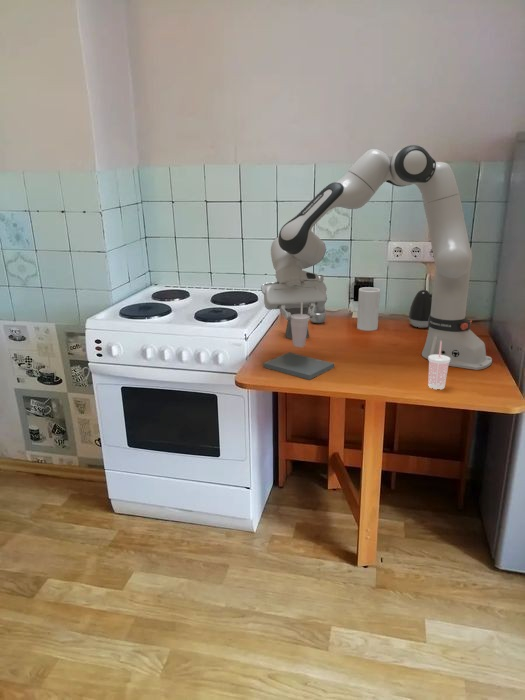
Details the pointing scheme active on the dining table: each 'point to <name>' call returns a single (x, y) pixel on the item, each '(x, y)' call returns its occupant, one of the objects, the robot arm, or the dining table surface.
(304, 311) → the coffeepot
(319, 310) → the plastic bottle
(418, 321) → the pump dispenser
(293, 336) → the smoothie
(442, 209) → the robot arm
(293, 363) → the slate board
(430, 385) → the beverage cup
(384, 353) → the dining table surface
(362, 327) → the cup
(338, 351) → the dining table surface
